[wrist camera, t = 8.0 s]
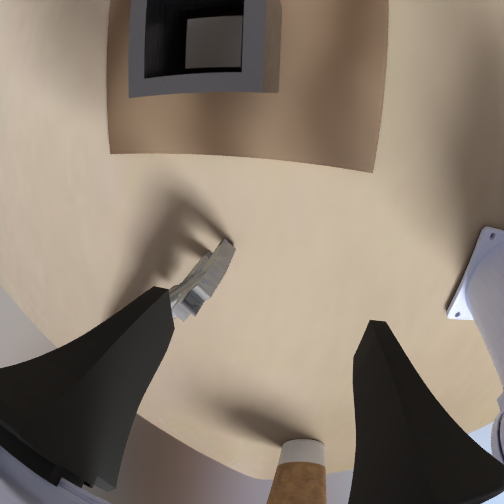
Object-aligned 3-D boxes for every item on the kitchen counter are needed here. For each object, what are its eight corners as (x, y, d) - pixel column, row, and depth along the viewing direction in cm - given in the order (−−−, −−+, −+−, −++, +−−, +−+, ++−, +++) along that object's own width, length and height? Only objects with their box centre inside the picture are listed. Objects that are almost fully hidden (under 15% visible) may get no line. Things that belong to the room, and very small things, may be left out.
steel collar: (281, 7, 11) (267, -36, 6) (278, 92, 14) (262, 92, 9) (189, 11, 12) (132, -17, 7) (187, 92, 14) (128, 98, 9)
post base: (381, -17, 10) (405, -48, 6) (367, 166, 16) (388, 194, 12) (125, -11, 12) (78, -27, 8) (122, 148, 18) (76, 169, 14)
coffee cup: (343, 439, 32) (336, 540, 19) (320, 458, 37) (311, 542, 24) (282, 431, 33) (264, 537, 20) (268, 450, 37) (250, 538, 24)
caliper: (226, 233, 20) (196, 291, 14) (238, 244, 20) (212, 305, 15) (105, 338, 29) (78, 379, 24) (112, 344, 29) (86, 386, 24)
